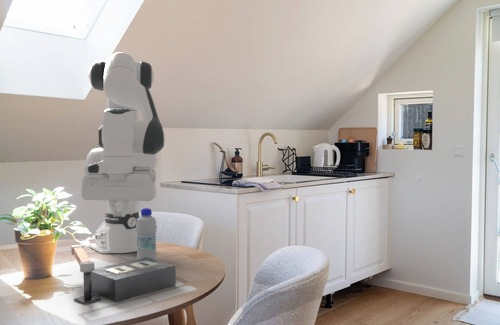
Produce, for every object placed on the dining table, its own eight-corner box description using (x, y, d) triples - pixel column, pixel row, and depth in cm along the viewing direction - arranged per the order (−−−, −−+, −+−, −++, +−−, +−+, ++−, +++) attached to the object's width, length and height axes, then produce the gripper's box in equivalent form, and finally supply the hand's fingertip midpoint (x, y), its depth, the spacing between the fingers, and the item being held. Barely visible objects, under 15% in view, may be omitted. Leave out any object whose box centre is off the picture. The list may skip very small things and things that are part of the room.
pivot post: (74, 300, 137) (73, 271, 136) (91, 296, 140) (90, 268, 140) (84, 304, 133) (83, 275, 133) (101, 300, 137) (100, 271, 136)
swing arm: (95, 272, 135) (95, 263, 135) (81, 273, 134) (80, 264, 134) (83, 252, 158) (82, 244, 158) (70, 253, 156) (70, 245, 156)
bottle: (149, 265, 172) (149, 206, 171) (161, 269, 167) (160, 208, 166) (132, 269, 167) (131, 208, 166) (143, 273, 163) (142, 210, 161)
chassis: (87, 291, 144) (87, 268, 144) (146, 276, 159) (146, 256, 159) (115, 302, 135) (115, 278, 134) (175, 285, 149) (175, 264, 149)
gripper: (158, 166, 144) (159, 215, 145) (87, 165, 146) (88, 214, 147) (152, 167, 138) (153, 218, 139) (78, 167, 140) (79, 217, 140)
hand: (119, 216), depth 143 cm, fingers closed
